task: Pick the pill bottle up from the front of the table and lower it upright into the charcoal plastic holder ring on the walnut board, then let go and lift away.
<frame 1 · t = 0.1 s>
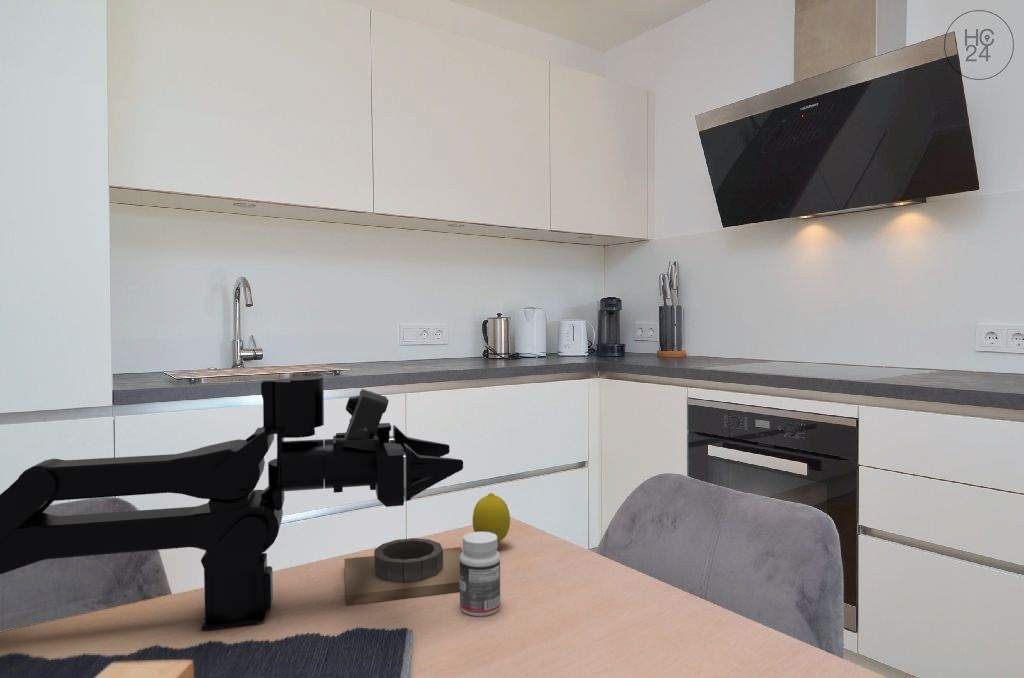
hand: (455, 456, 79), 17 cm above the table, tool horizontal, fingers open, 9 cm apart
pill bottle: (480, 609, 74), on the table
lemon: (491, 548, 94), on the table
socket board: (408, 577, 83), on the table
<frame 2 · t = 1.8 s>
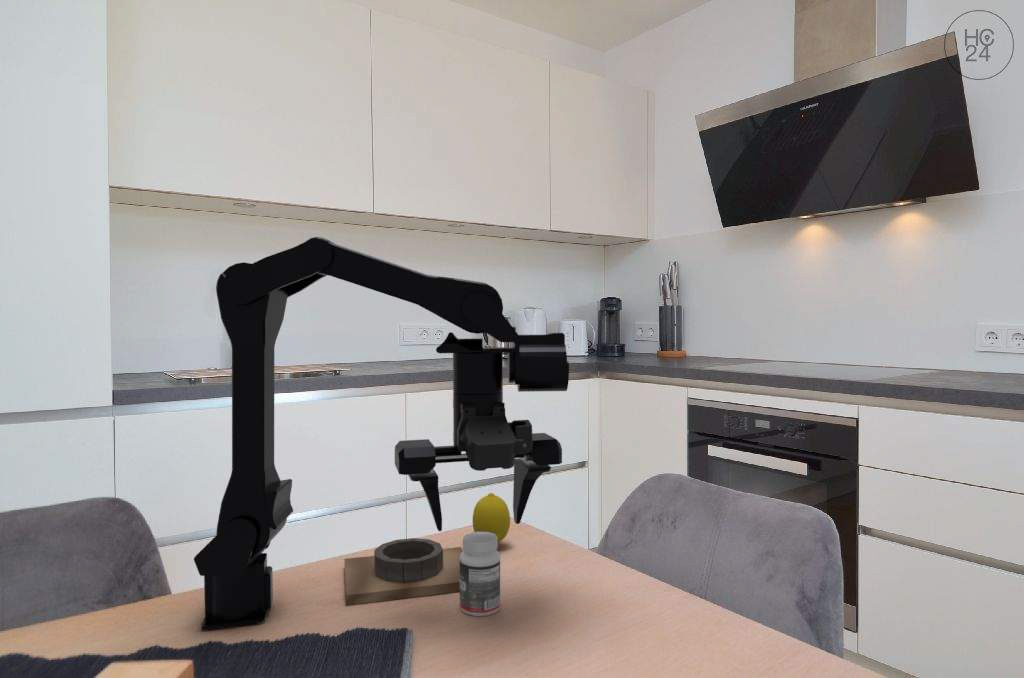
hand: (478, 526, 74), 10 cm above the table, tool pointing down, fingers open, 9 cm apart
nothing on the table moved.
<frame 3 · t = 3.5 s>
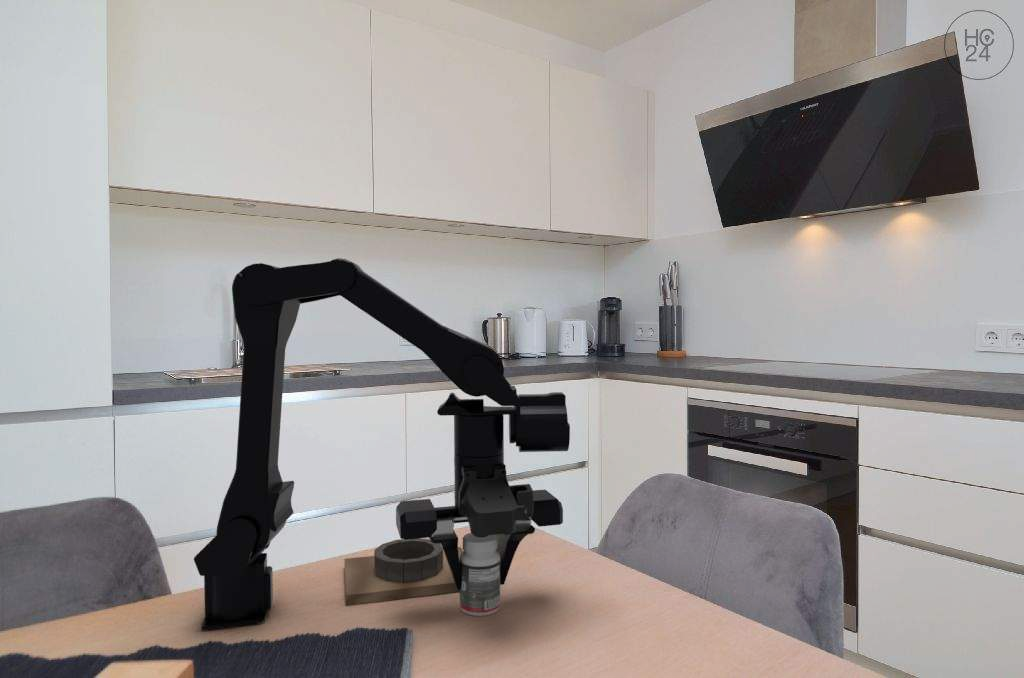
hand: (480, 586, 74), 3 cm above the table, tool pointing down, fingers closed on pill bottle, 5 cm apart
pill bottle: (480, 609, 74), on the table, touching gripper
everything else where it was.
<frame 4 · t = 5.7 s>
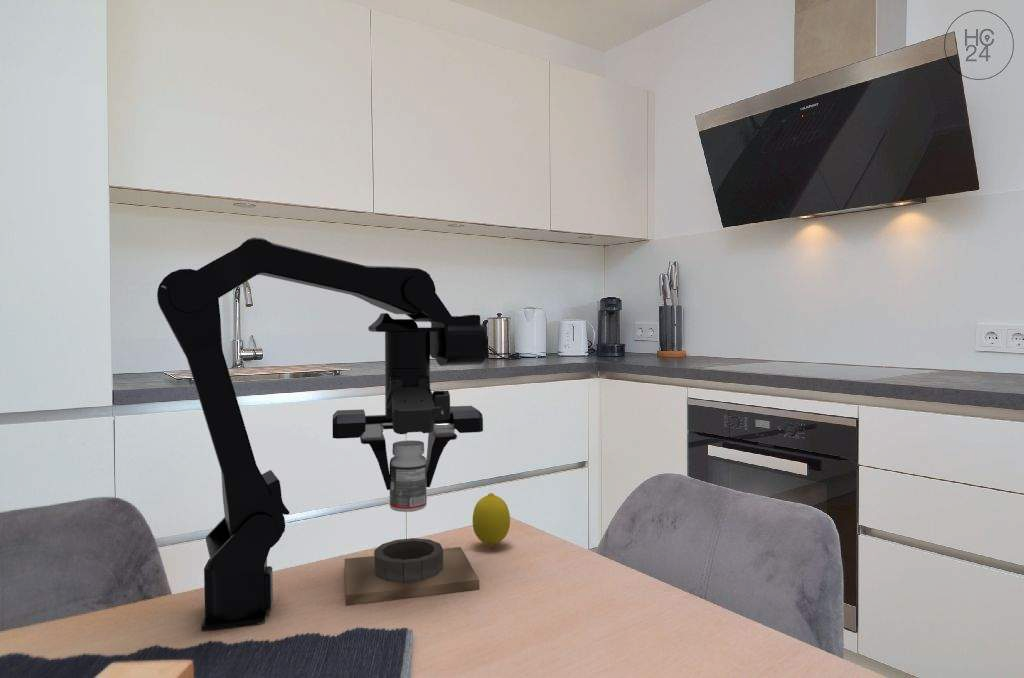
hand: (408, 487, 82), 12 cm above the table, tool pointing down, fingers closed on pill bottle, 5 cm apart
pill bottle: (408, 508, 83), point 9 cm above the table, touching gripper
everything else where it was.
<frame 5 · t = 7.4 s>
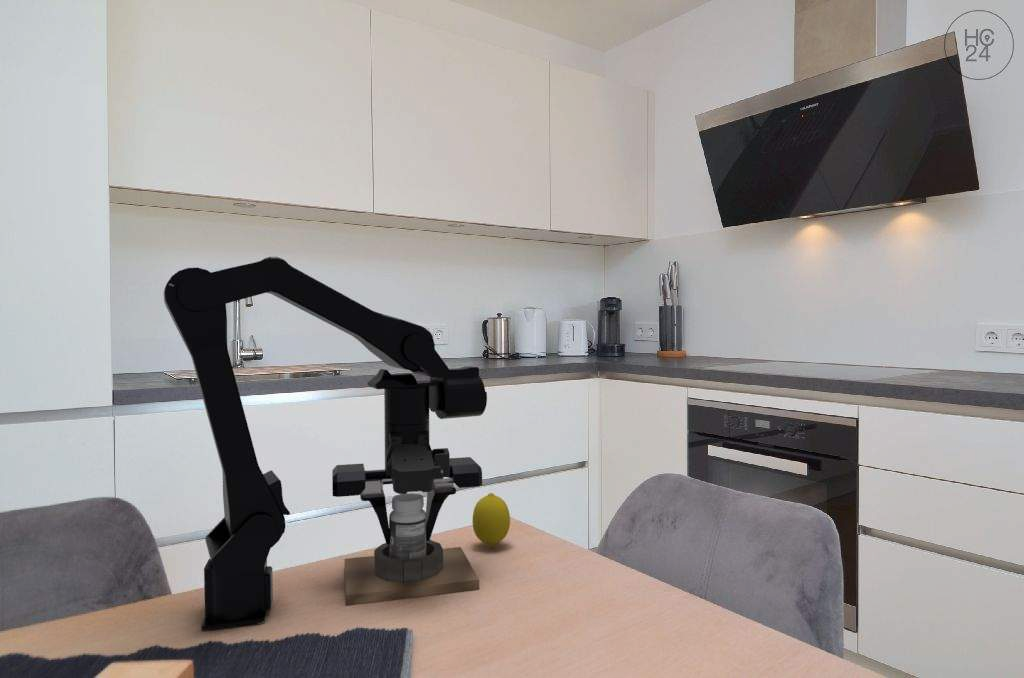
hand: (407, 541, 83), 5 cm above the table, tool pointing down, fingers closed on pill bottle, 5 cm apart
pill bottle: (407, 562, 83), point 2 cm above the table, touching gripper
everything else where it was.
when the fingers open (5 cm above the table, at t = 8.4 s): pill bottle stays where it is, resting on socket board.
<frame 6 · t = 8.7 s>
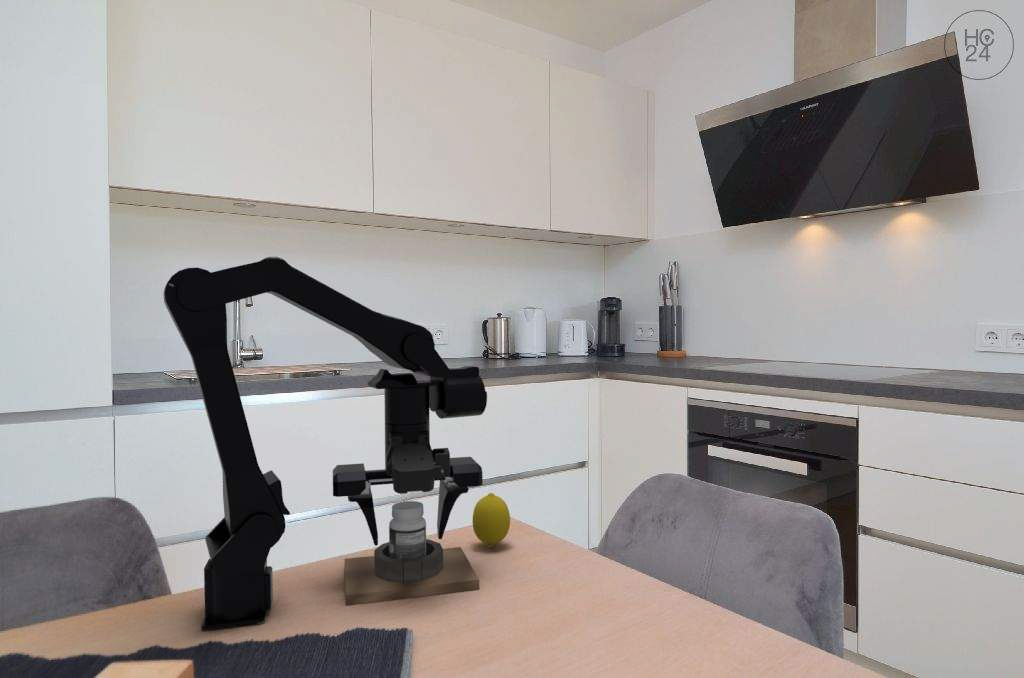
hand: (408, 541, 83), 5 cm above the table, tool pointing down, fingers open, 8 cm apart
pill bottle: (408, 570, 83), point 1 cm above the table, touching socket board
everything else where it was.
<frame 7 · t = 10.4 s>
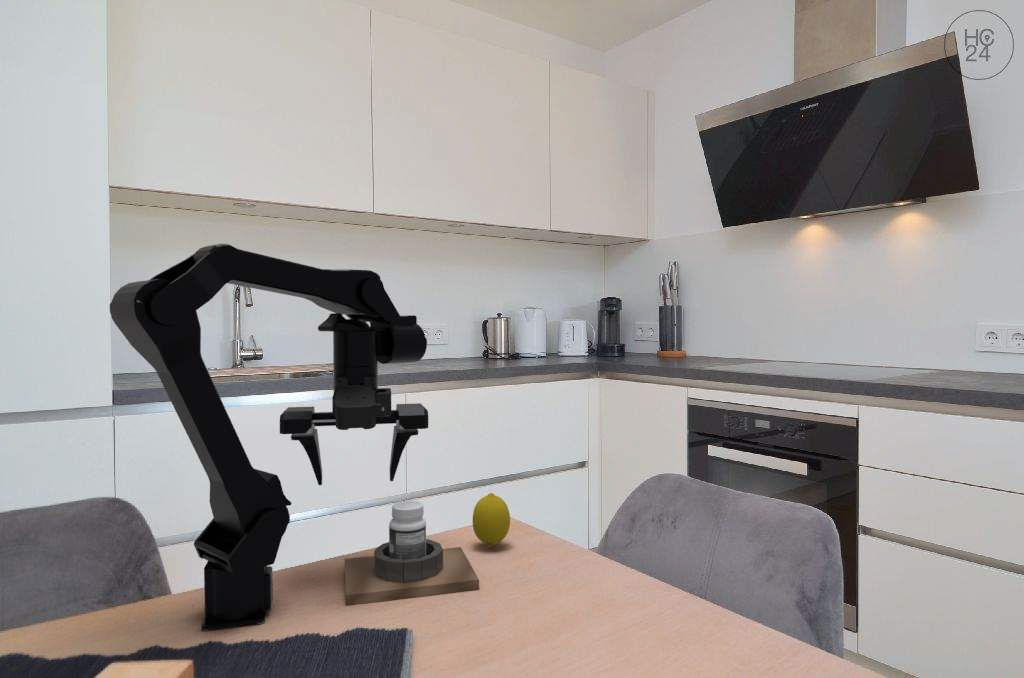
hand: (356, 482, 85), 12 cm above the table, tool pointing down, fingers open, 9 cm apart
nothing on the table moved.
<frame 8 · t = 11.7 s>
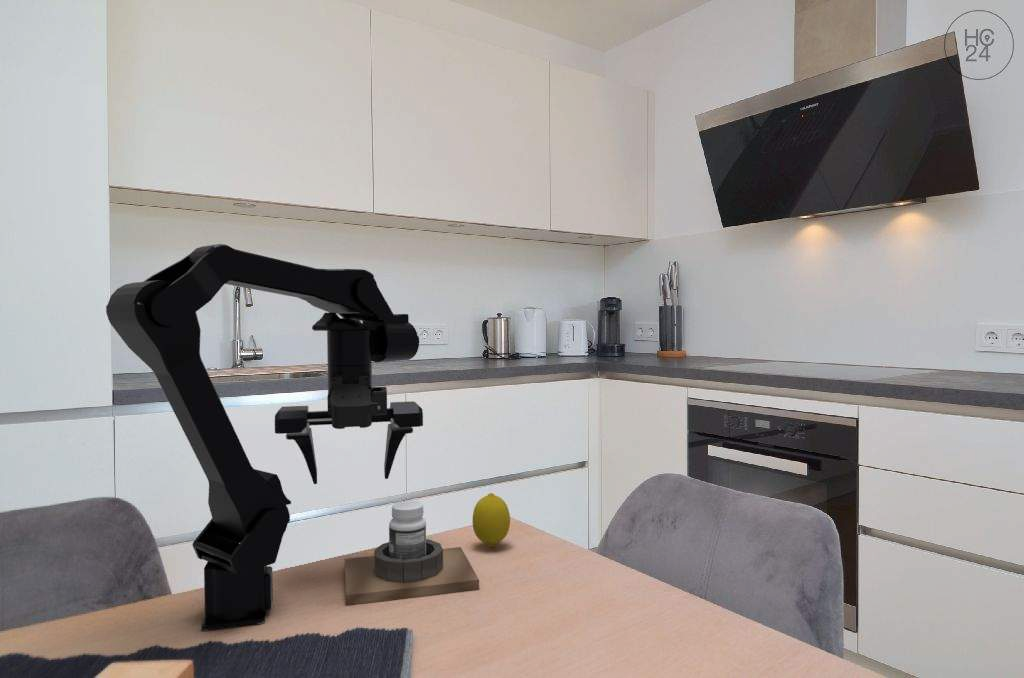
hand: (351, 480, 86), 12 cm above the table, tool pointing down, fingers open, 9 cm apart
nothing on the table moved.
at the end: pill bottle 0.1 cm off-centre on the socket board, point 1.0 cm above the socket board's base; pill bottle tilted 0°; the gripper is holding nothing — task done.
